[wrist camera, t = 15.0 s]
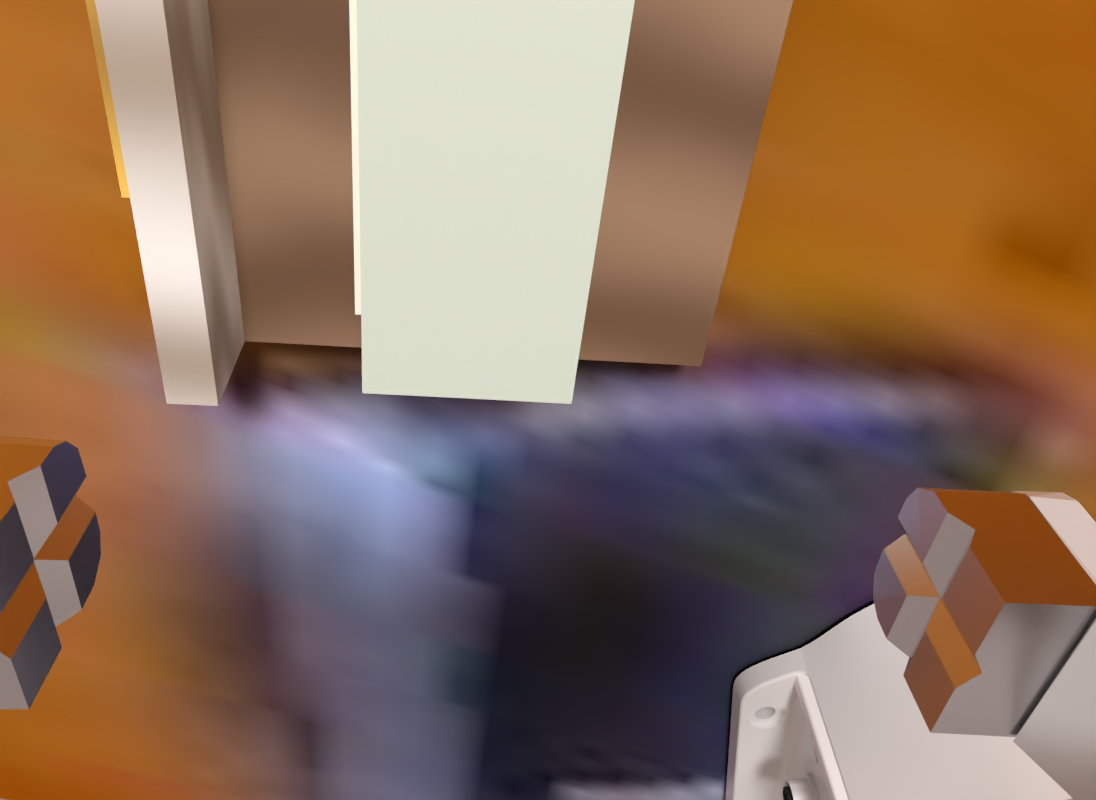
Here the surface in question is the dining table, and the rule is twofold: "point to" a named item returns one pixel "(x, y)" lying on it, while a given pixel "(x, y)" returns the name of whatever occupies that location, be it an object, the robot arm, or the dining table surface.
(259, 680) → the dining table surface
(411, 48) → the carton
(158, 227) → the shelf
